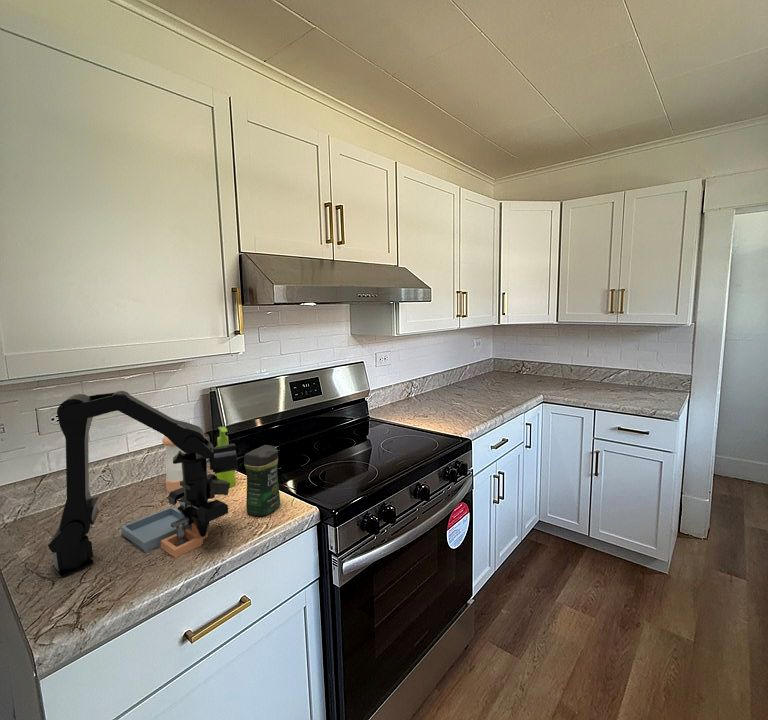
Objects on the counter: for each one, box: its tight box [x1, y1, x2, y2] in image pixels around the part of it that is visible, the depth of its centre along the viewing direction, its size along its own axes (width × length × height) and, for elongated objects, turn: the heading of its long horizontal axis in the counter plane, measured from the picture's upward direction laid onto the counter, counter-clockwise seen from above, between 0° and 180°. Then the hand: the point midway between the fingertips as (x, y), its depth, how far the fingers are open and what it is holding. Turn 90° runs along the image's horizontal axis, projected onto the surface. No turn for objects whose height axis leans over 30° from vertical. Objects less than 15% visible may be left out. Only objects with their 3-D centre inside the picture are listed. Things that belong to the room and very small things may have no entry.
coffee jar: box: [243, 444, 281, 517], centre depth 122 cm, size 10×8×19 cm
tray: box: [120, 506, 192, 553], centre depth 112 cm, size 13×13×2 cm
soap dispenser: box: [215, 426, 236, 489], centre depth 139 cm, size 6×7×20 cm
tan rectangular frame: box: [160, 523, 209, 559], centre depth 106 cm, size 10×7×4 cm
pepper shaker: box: [161, 435, 185, 493], centre depth 138 cm, size 7×7×19 cm
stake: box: [171, 517, 189, 547], centre depth 104 cm, size 4×2×7 cm, turn 143°
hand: (199, 534), depth 108 cm, fingers closed on tan rectangular frame, 3 cm apart
